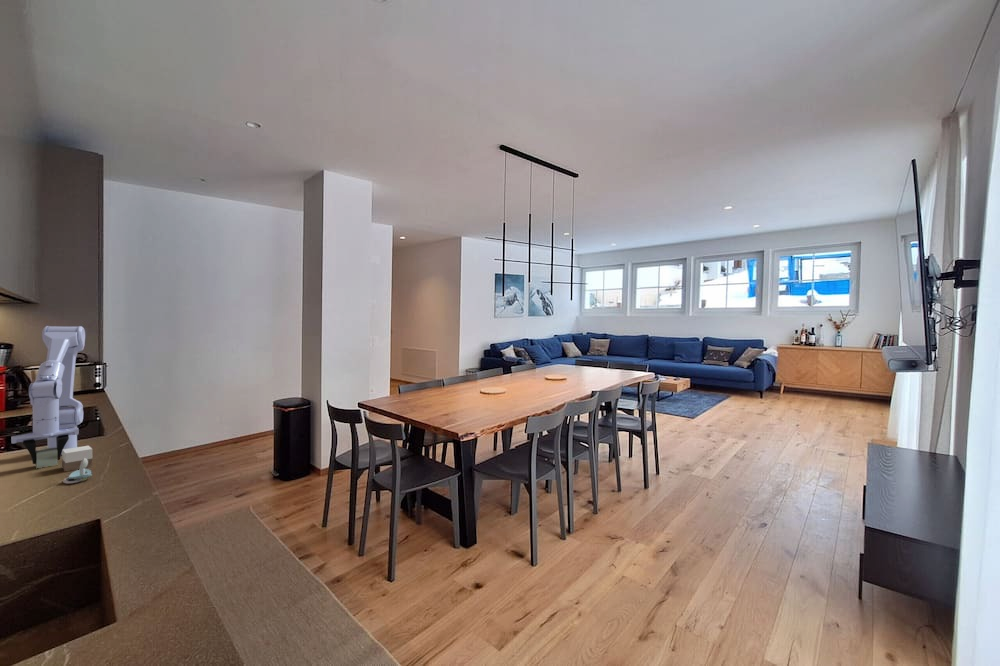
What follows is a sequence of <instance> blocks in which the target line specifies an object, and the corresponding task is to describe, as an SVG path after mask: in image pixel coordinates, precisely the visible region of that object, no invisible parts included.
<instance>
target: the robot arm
mask: <svg viewBox="0 0 1000 666" xmlns="http://www.w3.org/2000/svg"><path fill="white" fill-rule="evenodd" d="M41 332H42V333H41V337H42V342H43V343H44V345H45V347H46V348H47V352H46V353H47V354H46V361H43V362H42V363H41V364H39V368H38V371H37V374H36V377H35V380H34V382H31V383H30V384H29V386H28V397H29V400H30V401H29V403H30V405H31V406H32V432H30V433H24V434H18V435H12V436H11V435H10V437H11V439H10V441H11V443H10V444H18V443H23V446H24V447H25V448H26V450H27V451H28V453H29V455H30V457H31V461H32V465H35V464H36V450H37V449H36V448H37V443H36V441H38V440H46V439H47V440H46V441H47V448H53V447H56V448H57V451H58V461H60V460H61V456H62V450H63V449H69V448H76V447H78V435H79V434H80V433H79V431H80V430H79V427H78V426H79V425H80V424H81V423H83V420H84V405H83V403H82V401H80V400H77V399H75V398H74V384H75V372H76V371H75V370H76V362H77V361H76V360H77V357H78V353H79V352H82V351H84V348H85V344H86V343H85V342H86V330H85V328H84V327H83V326H81V325H79V326H57V325H56V326H54V325H52V326H50V325H46V326H45V327H43V329H42V331H41Z"/></svg>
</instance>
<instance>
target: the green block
mask: <svg viewBox="0 0 1000 666" xmlns="http://www.w3.org/2000/svg"><path fill="white" fill-rule="evenodd" d="M58 461H59V460H58V451H57V448H56V447H53V448H48V447H47V448H42V449H41V448H40V449H36V464H34V465H36V466H35V468H36V469H37V468H41V469H43V468H42V467H46V466H52V467H54V466H53V465H58V464H59V463H58ZM46 468H47V467H46Z"/></svg>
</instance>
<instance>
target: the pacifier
mask: <svg viewBox="0 0 1000 666" xmlns="http://www.w3.org/2000/svg"><path fill="white" fill-rule="evenodd" d="M87 465H88V460H87V459H86V458H83V459H82V462H81V464H80V469H79V470H73V471H72V472H71V473H70V474H69V475H68V477H66V478H63V480H62V483H63V484H66V485H67V484H69V485H70V484H71V485H72V484H77V483H80V482H84V481H86V480H87V479H88V478H90V477H92V476H93V474H92V470H91V469H89V468H86V466H87Z"/></svg>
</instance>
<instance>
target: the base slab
mask: <svg viewBox="0 0 1000 666" xmlns="http://www.w3.org/2000/svg"><path fill="white" fill-rule="evenodd" d="M87 460H88V465H87V466H86V468H85V469H88V468H87V467H90V468H92V467H91V466H93V458H92V459H87ZM81 462H82V460H80V461H75V462H69V463H65V462H64V461H63V459H62V458H61V468H62V467H63V468H62V470H63V469H64V470H63V472H65V471H68V472H71V471H70V470H73V471H76V470H78V469H80V464H81Z"/></svg>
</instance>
